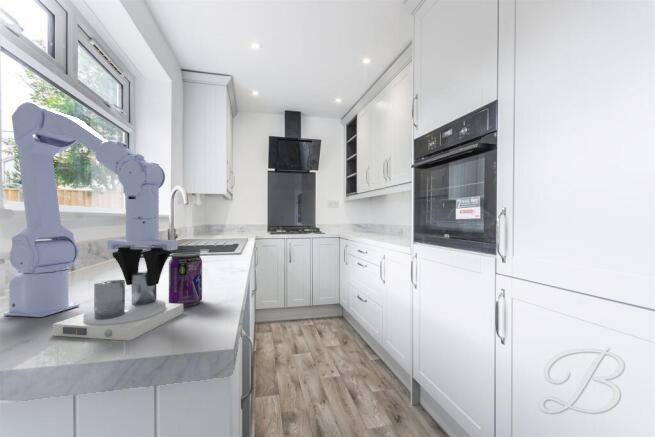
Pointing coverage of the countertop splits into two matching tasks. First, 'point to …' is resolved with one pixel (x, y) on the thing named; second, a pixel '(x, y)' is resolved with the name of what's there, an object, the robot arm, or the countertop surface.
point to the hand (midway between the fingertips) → (142, 284)
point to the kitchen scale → (119, 322)
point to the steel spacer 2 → (142, 289)
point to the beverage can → (185, 279)
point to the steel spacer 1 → (109, 299)
